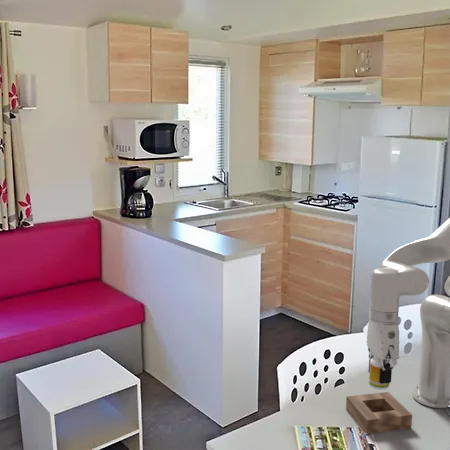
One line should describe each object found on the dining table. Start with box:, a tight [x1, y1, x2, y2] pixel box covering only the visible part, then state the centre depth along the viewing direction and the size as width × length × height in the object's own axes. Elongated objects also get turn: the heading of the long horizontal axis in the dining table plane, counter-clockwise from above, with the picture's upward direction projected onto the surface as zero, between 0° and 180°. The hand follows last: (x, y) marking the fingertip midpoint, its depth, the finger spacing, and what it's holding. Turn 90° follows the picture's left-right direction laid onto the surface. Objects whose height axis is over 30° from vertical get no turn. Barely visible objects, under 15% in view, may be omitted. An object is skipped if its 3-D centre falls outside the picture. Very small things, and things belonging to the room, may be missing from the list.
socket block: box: [345, 391, 413, 435], centre depth 154 cm, size 13×13×4 cm
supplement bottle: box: [368, 353, 390, 390], centre depth 152 cm, size 5×5×10 cm
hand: (379, 377), depth 152 cm, fingers closed on supplement bottle, 5 cm apart
